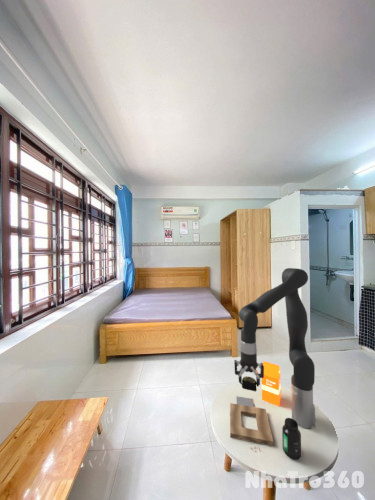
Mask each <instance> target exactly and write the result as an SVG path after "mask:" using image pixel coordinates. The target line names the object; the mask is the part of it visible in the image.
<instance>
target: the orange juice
mask: <svg viewBox="0 0 375 500" xmlns="http://www.w3.org/2000/svg"><path fill="white" fill-rule="evenodd" d="M262 361H263V362H262V363H263V365H264V378H261V400H262V401H264V402H266V403H269V404H271V405H274V406H277V407H280V403H281V398H282V394H281V393H282V390H281V389H282V388H281V387H282V385H281V384H282V382H281V378H282V377H281V367H280V365H279V364H276V363H275V364H274V363H271V362H268V361H266V360H265V361H264V360H262Z"/></svg>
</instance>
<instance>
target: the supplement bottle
mask: <svg viewBox="0 0 375 500" xmlns="http://www.w3.org/2000/svg"><path fill="white" fill-rule="evenodd" d="M281 431H282V450H283V452H284V454H285V455H286V457H288V458H289V459H291V460H293V461H299V460H301V458H302V434H301V432H300V429H299V425H298V424H297V422H296V421H295V420H294V419H292V417H286V418H285V419H284V424H283V426H282V428H281Z"/></svg>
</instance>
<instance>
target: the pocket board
mask: <svg viewBox="0 0 375 500" xmlns="http://www.w3.org/2000/svg"><path fill="white" fill-rule="evenodd" d="M229 404H230V405H229V407H230V408H229V409H230V410H229V411H230V412H229V413H230V415H229V417H230V418H229V421H230V422H229V430H230V431H229V434H230V435H229V438H233V439H236V440H242V441H248V442H251V443H256V444H262V445H267V446H271V447H274V439H273V435H272V431H271V427H270V423H269V417H268V413H267V409H266V408H261V407H256V406H254V407H251V406H245V405H239V404H237V403H231V402H230V403H229ZM242 416H247V417H252V418H255V420H256V425H257V429H253V428H249V427H248V428H247V427H243V426H242V424H243V423H242Z"/></svg>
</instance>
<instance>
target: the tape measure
mask: <svg viewBox="0 0 375 500" xmlns="http://www.w3.org/2000/svg"><path fill="white" fill-rule="evenodd" d="M241 387H242V389H243V390H246V391H247V390H248V391H253V392H257V391H258V390H257V383H256V379H255V378H253V377H252V376H243V378H242V384H241Z"/></svg>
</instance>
